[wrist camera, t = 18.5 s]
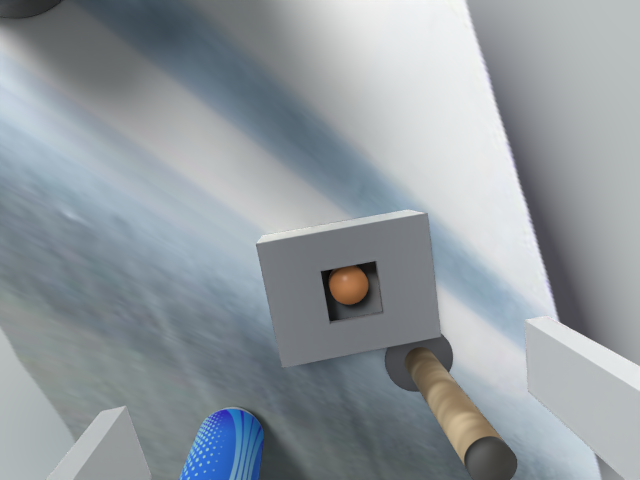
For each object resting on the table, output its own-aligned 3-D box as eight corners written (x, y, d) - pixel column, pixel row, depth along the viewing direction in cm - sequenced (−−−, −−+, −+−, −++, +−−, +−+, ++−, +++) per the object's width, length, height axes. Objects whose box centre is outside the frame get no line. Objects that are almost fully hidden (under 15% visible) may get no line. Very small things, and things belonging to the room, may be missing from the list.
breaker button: (331, 301, 38) (333, 307, 36) (325, 266, 37) (327, 271, 35) (367, 295, 38) (370, 300, 36) (362, 260, 37) (365, 264, 36)
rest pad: (389, 394, 43) (390, 397, 42) (380, 333, 41) (382, 335, 41) (453, 381, 43) (455, 384, 43) (447, 320, 42) (449, 322, 41)
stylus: (406, 377, 42) (472, 492, 26) (402, 350, 41) (468, 451, 25) (435, 371, 42) (518, 482, 26) (432, 344, 41) (515, 441, 26)
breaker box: (284, 341, 40) (282, 368, 34) (262, 235, 38) (255, 244, 32) (420, 315, 41) (441, 336, 35) (407, 209, 39) (427, 213, 33)
